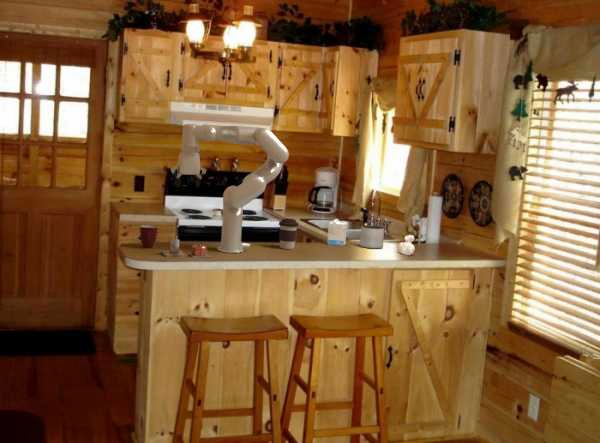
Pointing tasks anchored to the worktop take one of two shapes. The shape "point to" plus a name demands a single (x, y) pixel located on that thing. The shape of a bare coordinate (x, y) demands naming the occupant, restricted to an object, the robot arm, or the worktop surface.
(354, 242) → the worktop surface
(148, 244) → the mug
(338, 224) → the ink box
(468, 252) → the worktop surface
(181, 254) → the post base
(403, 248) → the duck figurine
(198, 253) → the orange round piece
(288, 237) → the coffee cup
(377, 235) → the planter
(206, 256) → the mat
